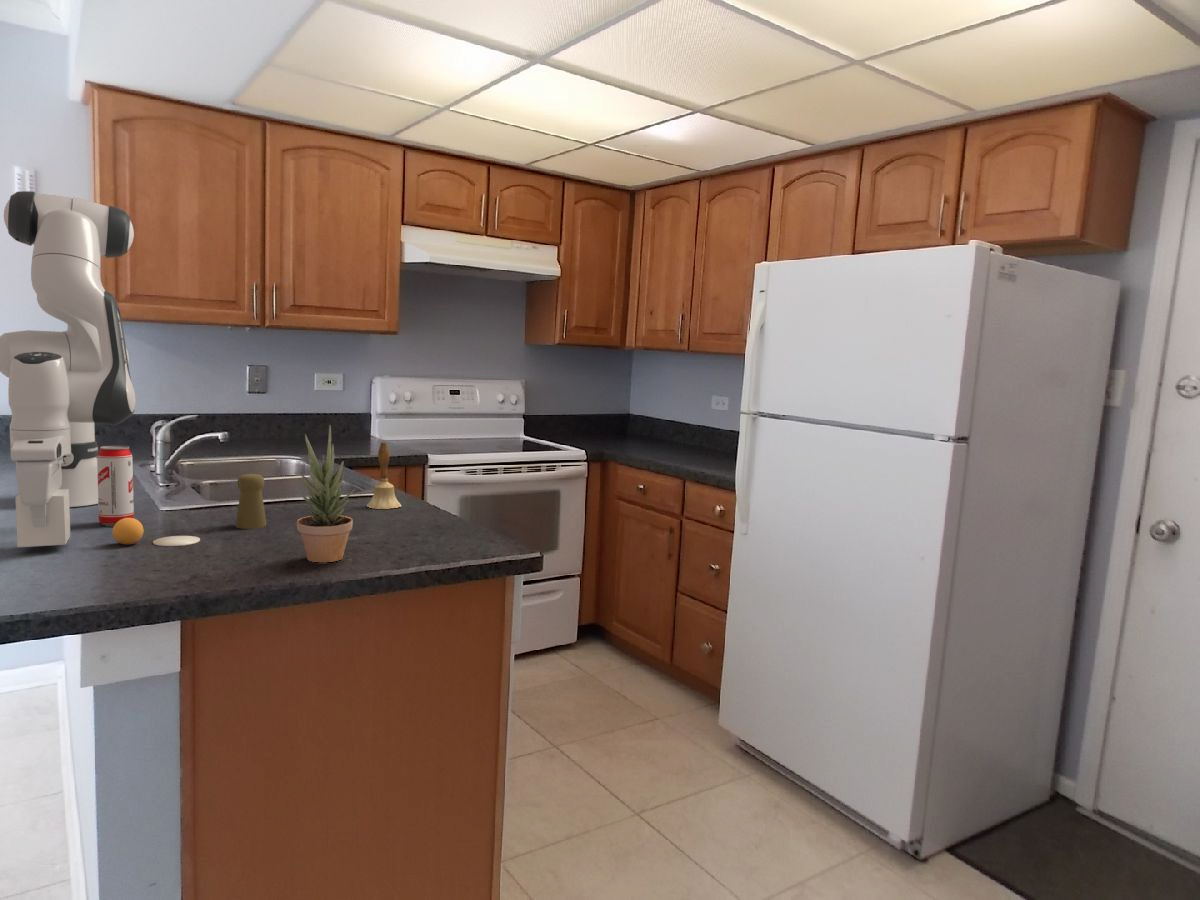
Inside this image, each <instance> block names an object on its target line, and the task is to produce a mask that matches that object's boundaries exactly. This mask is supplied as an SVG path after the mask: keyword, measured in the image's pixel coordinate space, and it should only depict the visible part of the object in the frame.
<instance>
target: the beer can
mask: <svg viewBox="0 0 1200 900" xmlns="http://www.w3.org/2000/svg"><path fill="white" fill-rule="evenodd" d="M99 449H100V450H99V452H98V455H97V456H96V458H97V471H98V504H97V505H98V521H99V523H100V524H101V525H102V526H104V525H105V526H104V527H114V525H115V524H116V523H117V522H118V521H119V520H121V519H124V518H134V519H135V508H134V500H135V499H134V471H133V470H134V469H133V467H134V466H133V464H134V463H133V453H132V452H131V451H130V446H128V445H105V446H104V445H103V446H100V447H99Z"/></svg>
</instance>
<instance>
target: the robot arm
mask: <svg viewBox="0 0 1200 900" xmlns="http://www.w3.org/2000/svg"><path fill="white" fill-rule="evenodd" d="M3 220H4V225H5V227H6V229H7V232H8V235H9V236H10V237H11V238H13V240H15V241H16V242H19V243H22V244H24V245H27V246H33V249H32V257H31V267H30V281H31V287H32V288H33V289H32V290H34V292H35V294H36V300H37V303H38V305H39V307H40V309H41V310H42V311H43V312H44V313H45V314H48V315H49V316H51V317H52V318H55V319H57V320H59V321H61V322H63V323H65V324H67V329H66V330H65V331H56V330H55V331H54V330H52V331H51V330H49V331H48V330H32V329H28V330H19V331H10V332H4V333H3V334H1V335H0V373H1V374H2V375H4V376H5V377H7V378H8V387H7V388H8V394H7V395H8V396H7V397H8V406H9V408H10V410H11V422H10V424H9V443H10V459H11V461H12V462H15V471H16V472H15V473H16V481H17V488H18V494H19V496H20V500H21V502H22V504H23V505H25V506H30V508H31V513H32V516H33V526H34V527H44V526H45V525H46V524H47V515H46V504H47V503H48V501H49V500H50V499H51V498H52V495H53V494H54V493H55V492H56V491H57V489H69V508H74V507H84V506H85V507H86V506H91V505H98V471H97V455H98V453H99V452H98V451H99V446H98V442H97V440H96V436H95V433H96V431H95V429H96V428H95V424H96V425H97V424H98V425H108V426H118V425H119V424H122V423H123V422H124V421H127V419H129V418H130V417H131V416H132V415H133V414H134V413H135V408H136V402H137V398H136V392H135V389H134V385H133V383H132V378H131V373H130V366H129V360H130V358H129V351H128V349H127V346H126V339H125V333H124V326H123V320H122V316H121V311H120V308H119V304H118V302H117V300H116V297H115V295H114V294H113V293H111V292H110V291H107V290H106V289H105V288H104V286H103V283H102V281H101V280H102V279H101V256H104V257H105V258H106V259H110V258H120V257H122V256H124V255H126V254H128V250H129V249H130V248H131V246H132V244H133V242H134V238H135V231H134V226H133V223H132V221H131V216H129V214H128V213H127V212H126V211H125V210H123V209H120V208H118V207H117V206H113V205H109V206H107V205H104V204H102V203H97V202H95V201H91V200H86V199H84V198H83V199H82V198H78V197H68V196H61V195H56V194H55V195H54V194H45V193H36V192H35V191H29V190H28V191H25V190H22V191H16V192H14V193H13V194H11V195H10V198H9V200H7V203H6V204H5V207H4V210H3Z"/></svg>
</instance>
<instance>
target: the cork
mask: <svg viewBox="0 0 1200 900" xmlns="http://www.w3.org/2000/svg"><path fill="white" fill-rule="evenodd" d="M237 487H238V489H239V490H240V492H239V493H240V494H239V499H238V507H237V515H236V523H235V527H236V528H237V529H244V530H245V529H247V530H249V529H250V530H252V529H253V530H254V529H261V527H262V528H265V527H266V525H267V519H266V512H265V505H264V498H263V492H262V490H263V488H264V487H265V478H264V477H263V476H262V475H261V474H259V473H258V474H257V473H247V474H246V473H245V474H242V475H239V476H238V479H237ZM264 526H265V527H264Z"/></svg>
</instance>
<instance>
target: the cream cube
mask: <svg viewBox="0 0 1200 900" xmlns="http://www.w3.org/2000/svg"><path fill="white" fill-rule="evenodd" d="M14 499H15V519H16V523H15V524H16V541H17V542H16V544H17V548H26V547H28V548H29V547H30V548H31V547H45V546H63V545H67V542H68V541H69V539H70V538H71V514H70V512H71V511H70V507H69V489H57V491H56V492H55V493H54V494H53V495H52V498H51V499H50V500H49V501H48V503H47V504H46V515H47V524H46V525H45V526H44V527H34V526H33V516H32V513H31V508H30V506H25V505H23V504H22V502H21V500H20V496H19V493H18V494H17V495H16V496H15V498H14Z"/></svg>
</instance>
